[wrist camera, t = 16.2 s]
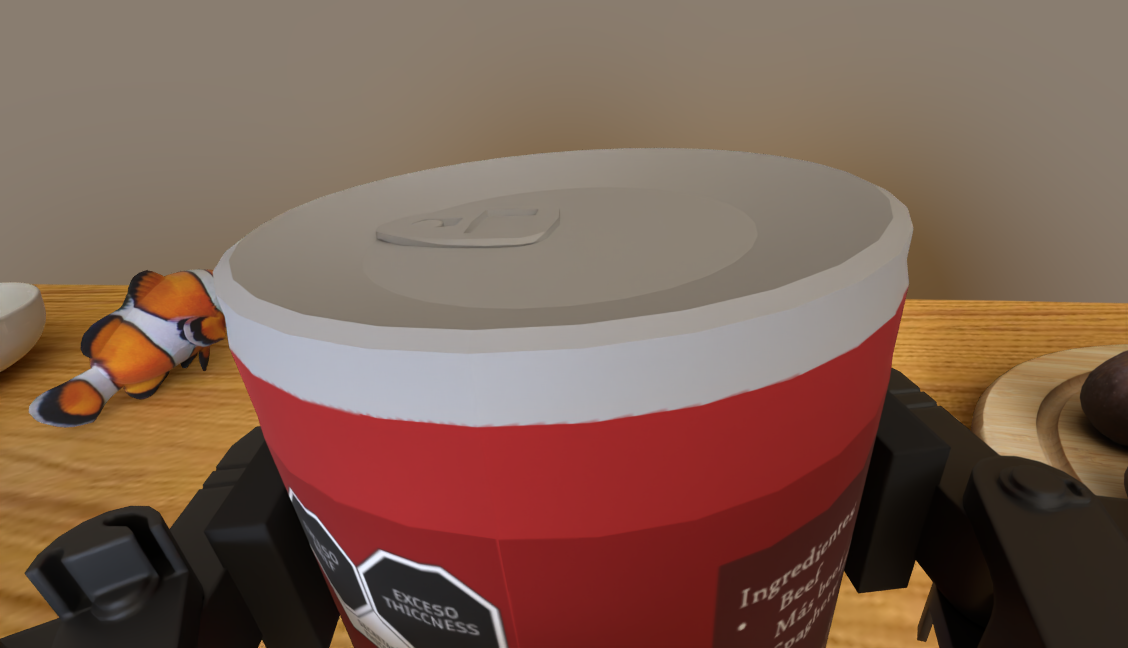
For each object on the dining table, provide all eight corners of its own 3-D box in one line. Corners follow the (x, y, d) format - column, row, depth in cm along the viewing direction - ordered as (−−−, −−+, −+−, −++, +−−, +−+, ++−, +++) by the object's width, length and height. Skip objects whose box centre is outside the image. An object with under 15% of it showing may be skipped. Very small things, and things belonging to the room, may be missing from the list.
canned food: (430, 576, 15) (316, 175, 10) (708, 529, 15) (732, 131, 10) (384, 1015, 8) (-62, 430, 3) (884, 898, 9) (1187, 260, 4)
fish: (290, 330, 54) (245, 239, 48) (116, 470, 39) (24, 364, 34) (218, 323, 57) (168, 237, 51) (32, 451, 43) (-64, 351, 37)
